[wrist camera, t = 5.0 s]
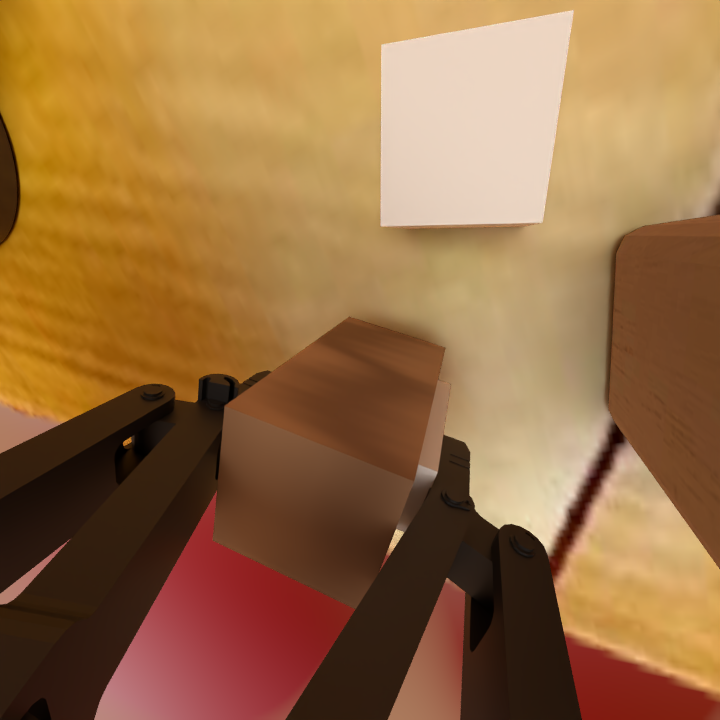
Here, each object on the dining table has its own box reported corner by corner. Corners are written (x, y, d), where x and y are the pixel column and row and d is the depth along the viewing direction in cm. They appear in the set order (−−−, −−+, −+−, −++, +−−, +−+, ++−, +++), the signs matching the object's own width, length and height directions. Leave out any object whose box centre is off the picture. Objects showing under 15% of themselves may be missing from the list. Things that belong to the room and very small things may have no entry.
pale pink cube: (407, 228, 20) (380, 226, 14) (411, 101, 18) (381, 44, 12) (524, 226, 18) (542, 222, 13) (542, 85, 16) (573, 10, 11)
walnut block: (330, 399, 20) (212, 540, 11) (349, 316, 18) (224, 405, 9) (415, 431, 19) (363, 613, 10) (445, 347, 17) (414, 481, 8)
